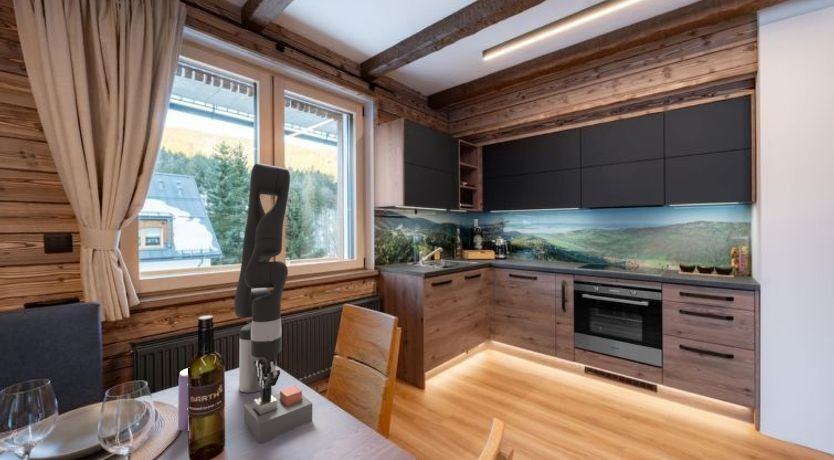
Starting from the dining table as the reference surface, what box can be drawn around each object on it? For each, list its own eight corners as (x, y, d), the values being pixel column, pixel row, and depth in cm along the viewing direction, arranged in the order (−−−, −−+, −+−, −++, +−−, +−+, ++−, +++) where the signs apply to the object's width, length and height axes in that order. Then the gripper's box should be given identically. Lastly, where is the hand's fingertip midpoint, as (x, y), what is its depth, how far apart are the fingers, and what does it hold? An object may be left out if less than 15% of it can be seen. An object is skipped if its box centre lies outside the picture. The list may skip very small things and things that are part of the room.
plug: (253, 416, 88) (254, 399, 88) (270, 410, 91) (270, 394, 92) (259, 423, 85) (259, 406, 85) (276, 416, 88) (277, 399, 88)
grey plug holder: (243, 423, 90) (244, 405, 90) (293, 404, 100) (293, 388, 100) (259, 443, 82) (259, 423, 82) (312, 421, 91) (312, 403, 91)
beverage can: (191, 434, 85) (191, 376, 85) (172, 431, 87) (172, 374, 87) (210, 421, 91) (210, 367, 91) (192, 418, 92) (192, 365, 92)
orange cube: (279, 406, 93) (280, 390, 93) (295, 400, 96) (295, 385, 96) (286, 412, 90) (286, 396, 90) (301, 406, 93) (301, 390, 93)
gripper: (243, 333, 91) (243, 396, 90) (261, 344, 81) (260, 415, 81) (271, 327, 96) (270, 387, 96) (290, 338, 86) (290, 403, 86)
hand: (266, 399), depth 88 cm, fingers closed
